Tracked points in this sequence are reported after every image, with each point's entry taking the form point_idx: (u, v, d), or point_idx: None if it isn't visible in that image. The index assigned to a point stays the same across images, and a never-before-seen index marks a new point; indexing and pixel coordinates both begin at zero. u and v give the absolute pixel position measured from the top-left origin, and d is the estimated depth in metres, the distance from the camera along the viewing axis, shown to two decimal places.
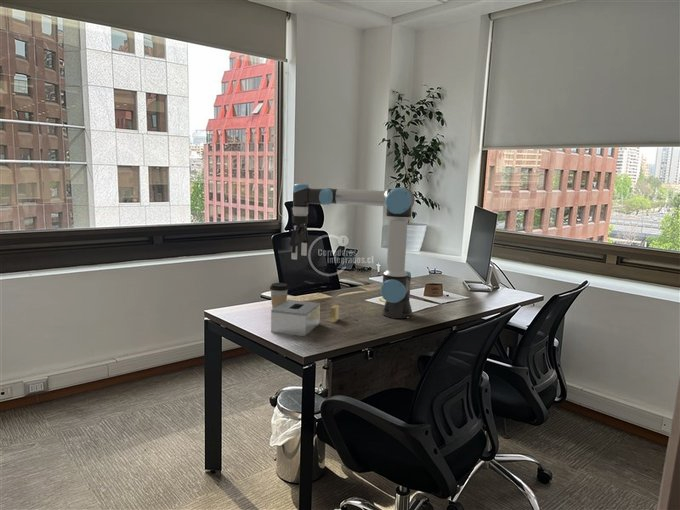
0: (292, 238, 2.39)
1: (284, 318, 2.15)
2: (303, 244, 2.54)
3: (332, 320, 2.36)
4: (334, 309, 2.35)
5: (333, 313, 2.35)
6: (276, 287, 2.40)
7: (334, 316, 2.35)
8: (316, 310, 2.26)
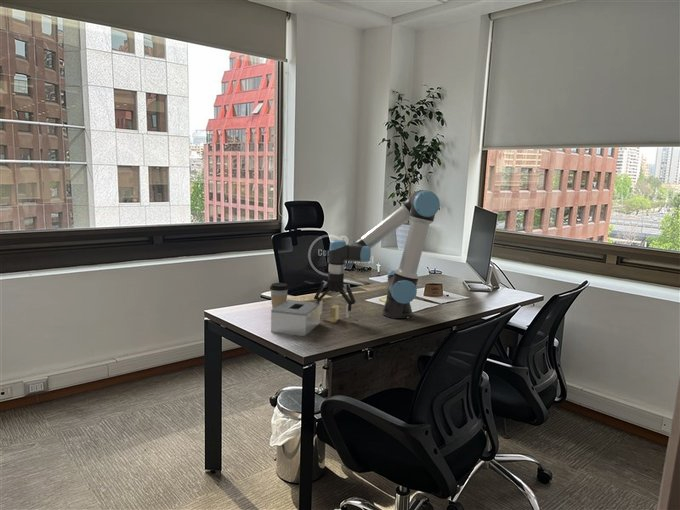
0: None
1: (284, 318, 2.15)
2: None
3: (332, 320, 2.36)
4: (334, 309, 2.35)
5: (333, 313, 2.35)
6: (276, 287, 2.40)
7: (334, 316, 2.35)
8: (316, 310, 2.26)
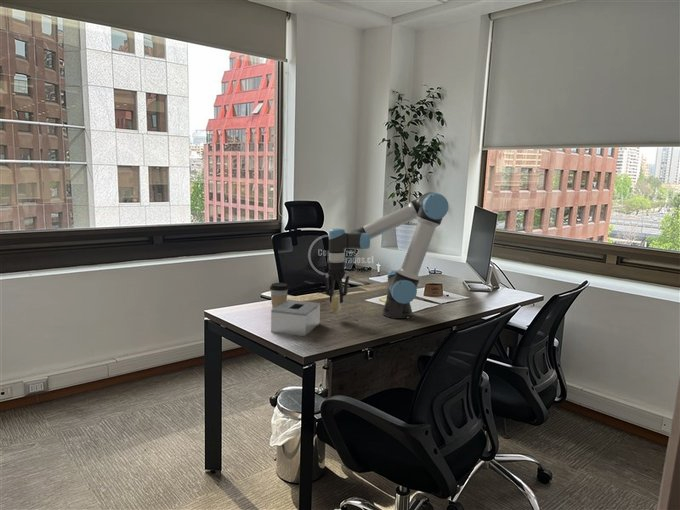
0: None
1: (284, 318, 2.15)
2: None
3: (334, 310, 2.35)
4: (335, 299, 2.34)
5: (335, 303, 2.35)
6: (276, 287, 2.40)
7: (336, 306, 2.35)
8: (316, 310, 2.26)
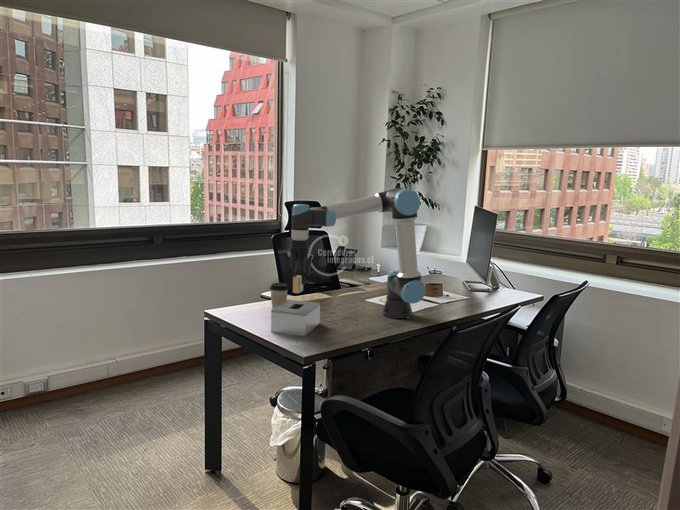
0: None
1: (284, 318, 2.15)
2: None
3: (295, 291, 2.20)
4: (297, 279, 2.19)
5: (296, 283, 2.20)
6: (276, 287, 2.40)
7: (297, 286, 2.20)
8: (316, 310, 2.26)
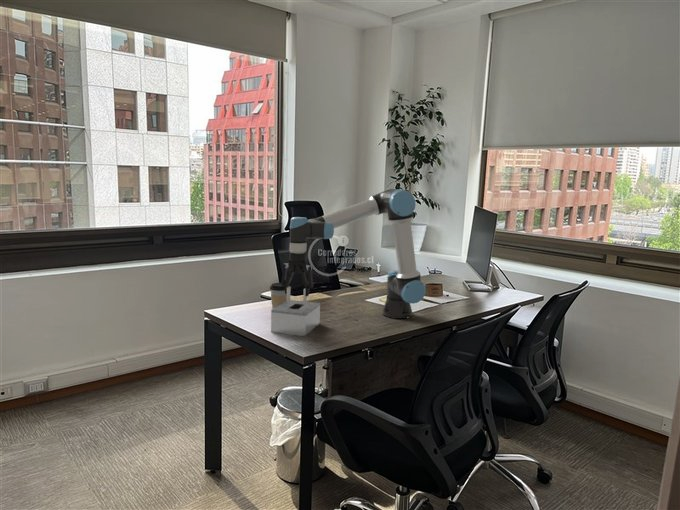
0: None
1: (284, 318, 2.15)
2: None
3: None
4: None
5: None
6: (276, 287, 2.40)
7: None
8: (316, 310, 2.26)
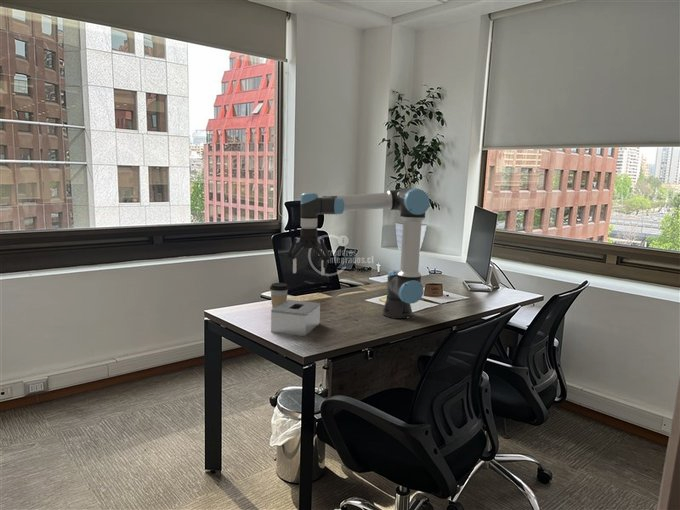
0: None
1: (284, 318, 2.15)
2: None
3: None
4: None
5: None
6: (276, 287, 2.40)
7: None
8: (316, 310, 2.26)
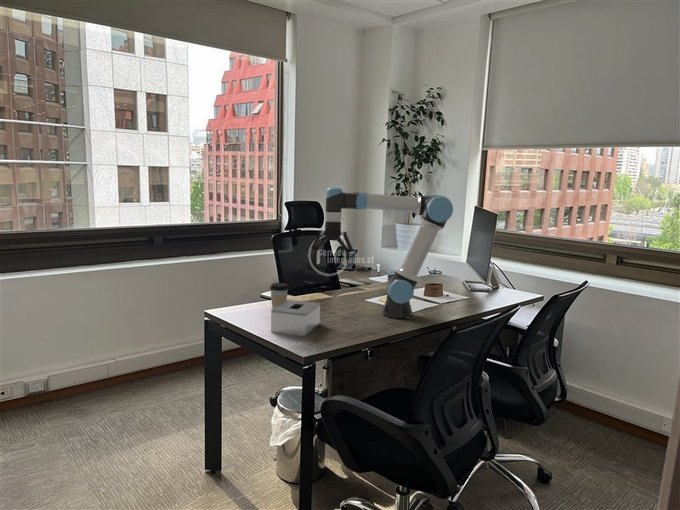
0: None
1: (284, 318, 2.15)
2: None
3: None
4: None
5: None
6: (276, 287, 2.40)
7: None
8: (316, 310, 2.26)
